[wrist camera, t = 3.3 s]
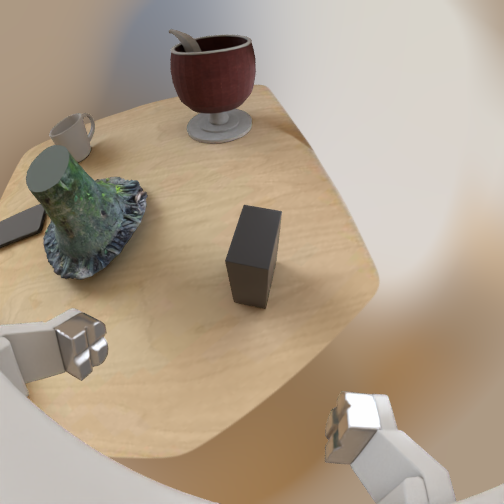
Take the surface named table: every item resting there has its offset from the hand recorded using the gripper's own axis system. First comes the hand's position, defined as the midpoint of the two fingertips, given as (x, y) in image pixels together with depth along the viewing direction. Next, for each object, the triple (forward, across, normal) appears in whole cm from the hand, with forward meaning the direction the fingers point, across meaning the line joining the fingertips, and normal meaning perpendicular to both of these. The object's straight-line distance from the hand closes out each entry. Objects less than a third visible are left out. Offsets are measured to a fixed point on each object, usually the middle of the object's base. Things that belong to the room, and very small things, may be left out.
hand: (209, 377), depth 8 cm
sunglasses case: (+22, +2, +5) cm, 23 cm away
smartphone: (+20, +47, +6) cm, 51 cm away
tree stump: (+24, +27, +3) cm, 36 cm away
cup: (+35, +44, -9) cm, 57 cm away
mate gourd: (+43, +17, -16) cm, 49 cm away
